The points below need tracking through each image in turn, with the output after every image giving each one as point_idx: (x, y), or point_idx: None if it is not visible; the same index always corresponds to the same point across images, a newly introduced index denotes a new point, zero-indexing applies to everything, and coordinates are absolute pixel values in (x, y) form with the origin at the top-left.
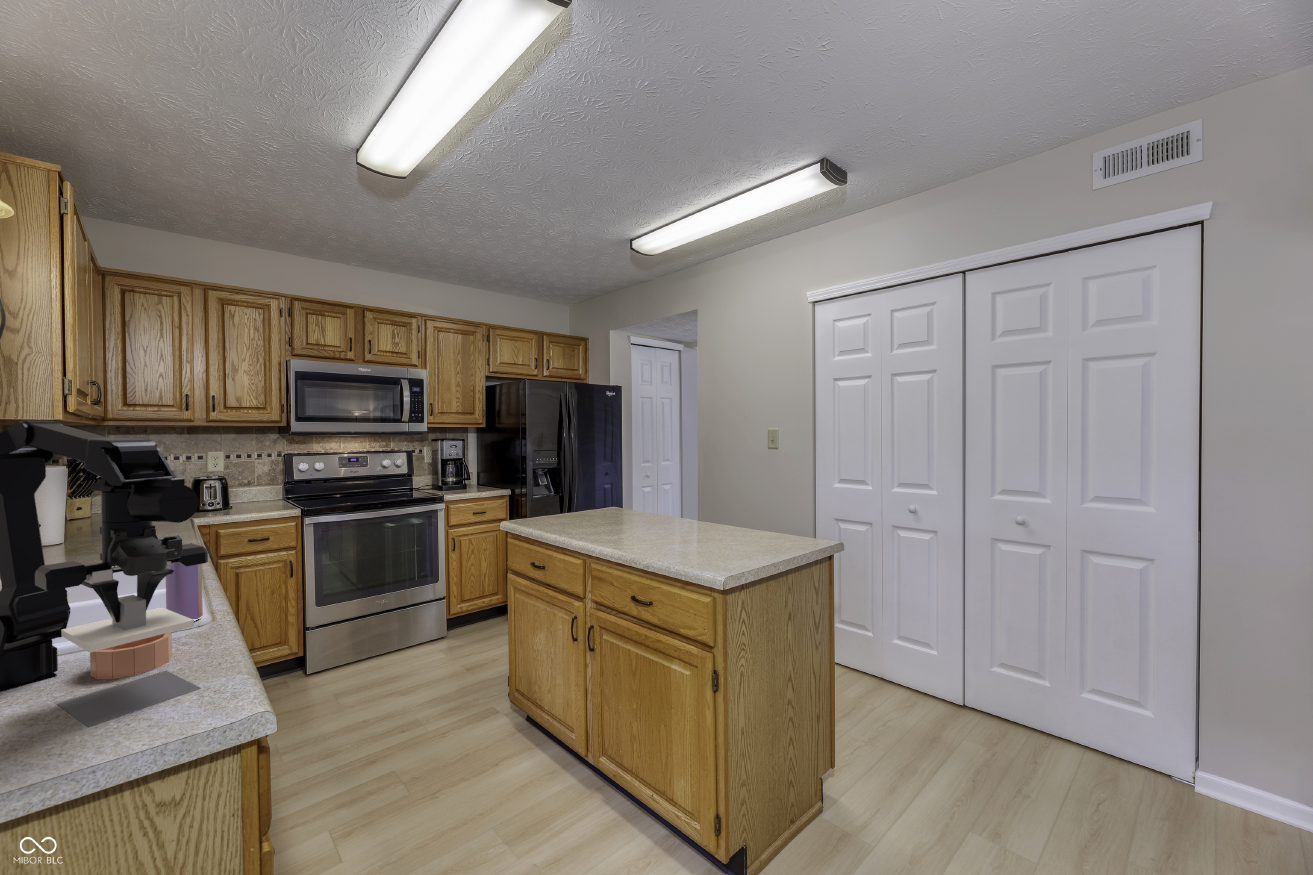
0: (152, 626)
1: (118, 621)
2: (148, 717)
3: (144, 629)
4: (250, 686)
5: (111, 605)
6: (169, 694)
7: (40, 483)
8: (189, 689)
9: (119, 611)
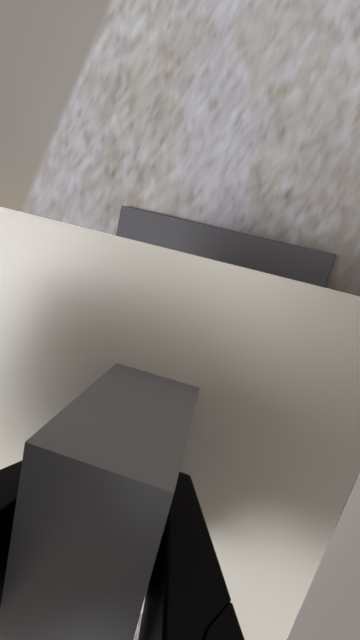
0: (120, 306)
1: (181, 473)
2: (251, 186)
3: (161, 299)
4: (68, 109)
5: (215, 581)
6: (168, 247)
7: None
8: (135, 229)
9: (170, 513)
